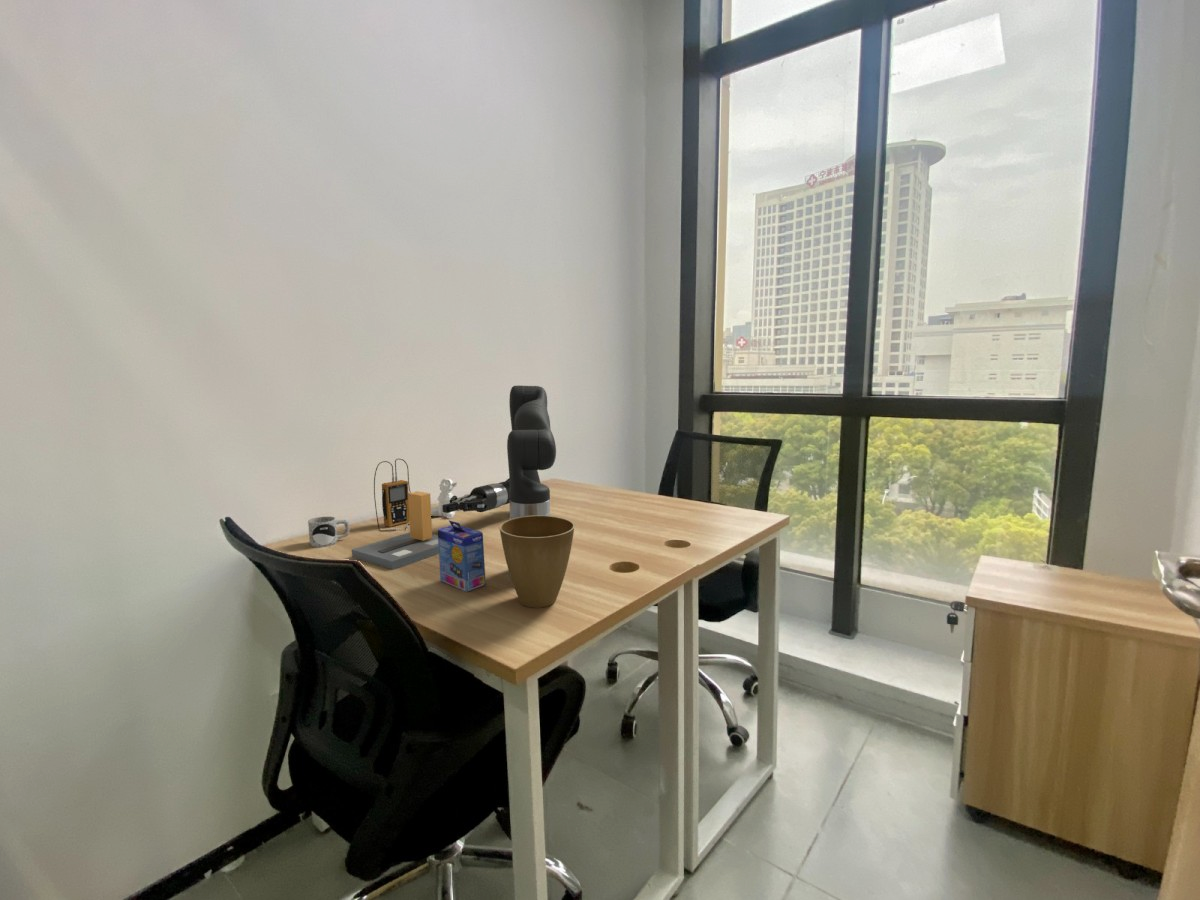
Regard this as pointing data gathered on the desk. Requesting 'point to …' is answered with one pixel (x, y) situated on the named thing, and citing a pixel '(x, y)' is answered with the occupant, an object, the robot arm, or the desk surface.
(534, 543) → the plant pot
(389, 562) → the switch panel
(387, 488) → the multimeter
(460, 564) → the ink cartridge box
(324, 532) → the mug
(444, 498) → the white creature statuette
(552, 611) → the desk surface
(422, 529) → the switch tab
